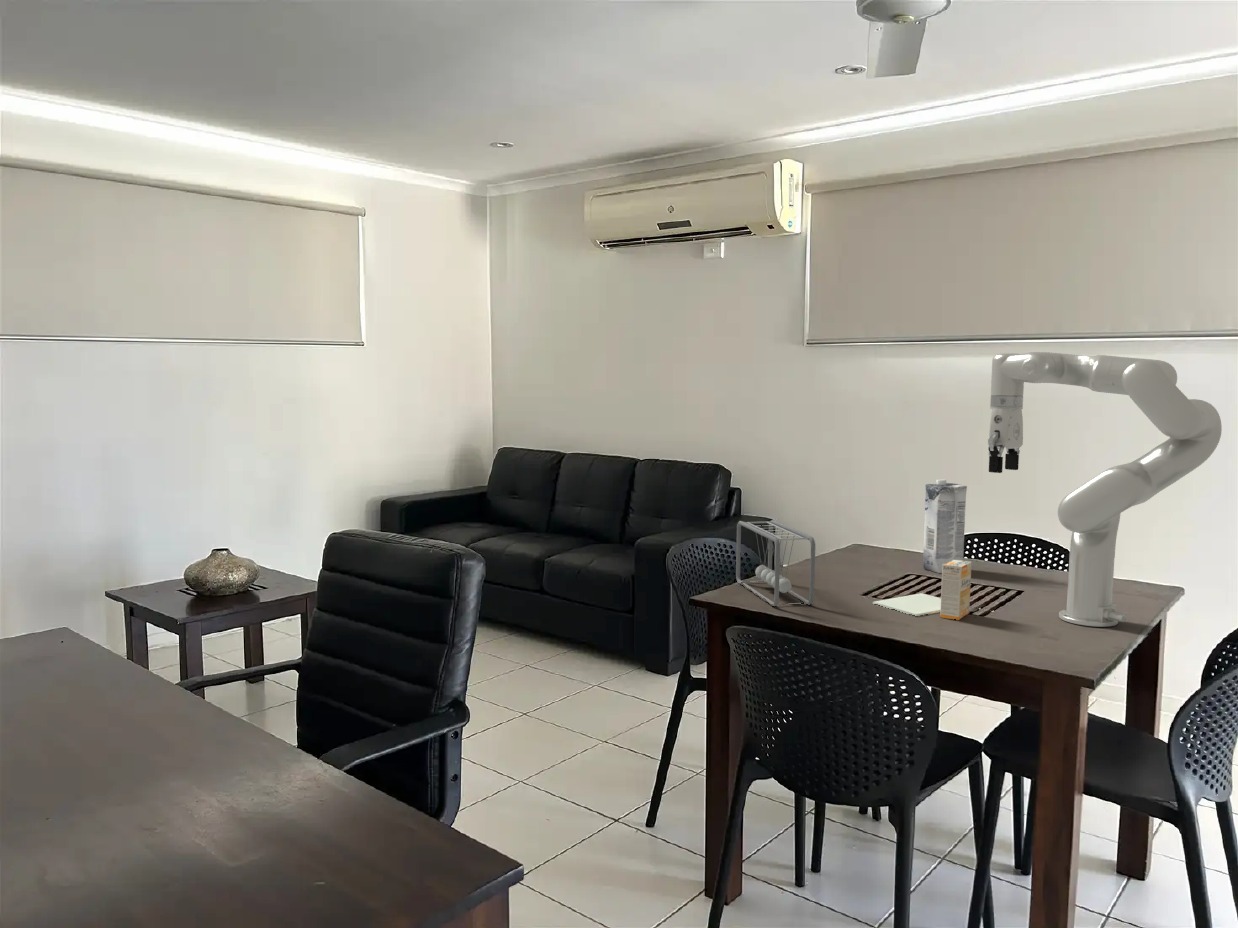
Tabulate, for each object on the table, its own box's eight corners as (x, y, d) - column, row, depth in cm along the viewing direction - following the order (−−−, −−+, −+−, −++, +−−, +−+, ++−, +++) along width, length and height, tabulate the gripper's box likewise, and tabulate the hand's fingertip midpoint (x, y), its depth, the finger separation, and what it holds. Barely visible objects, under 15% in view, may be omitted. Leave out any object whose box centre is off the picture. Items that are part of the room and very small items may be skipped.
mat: (965, 607, 232) (965, 604, 232) (916, 616, 223) (916, 614, 223) (921, 595, 244) (921, 593, 244) (872, 604, 235) (872, 601, 235)
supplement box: (959, 620, 219) (962, 566, 218) (939, 617, 222) (941, 564, 221) (970, 613, 226) (972, 561, 225) (950, 610, 229) (952, 558, 228)
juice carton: (967, 571, 273) (971, 481, 270) (939, 574, 269) (942, 482, 266) (945, 565, 281) (949, 477, 278) (918, 568, 277) (921, 479, 274)
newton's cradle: (735, 582, 259) (736, 519, 257) (770, 580, 261) (772, 518, 259) (775, 609, 229) (776, 539, 228) (814, 607, 232) (816, 537, 230)
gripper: (1007, 404, 222) (1004, 474, 224) (1035, 402, 235) (1032, 469, 236) (976, 403, 228) (974, 472, 229) (1005, 401, 240) (1002, 467, 242)
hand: (1003, 471), depth 233 cm, fingers open, 9 cm apart
